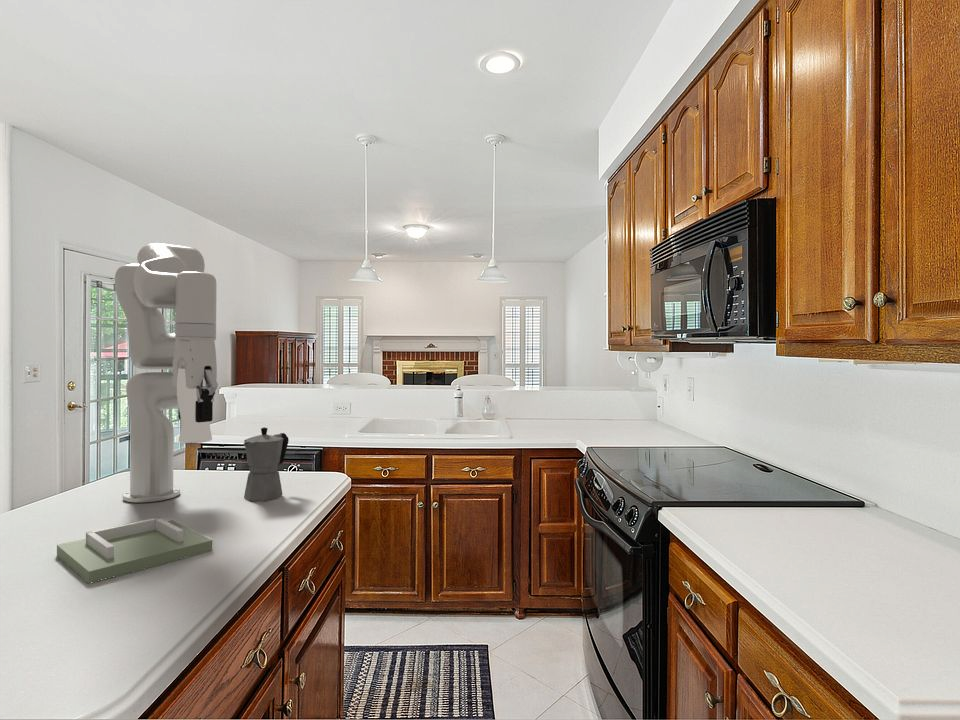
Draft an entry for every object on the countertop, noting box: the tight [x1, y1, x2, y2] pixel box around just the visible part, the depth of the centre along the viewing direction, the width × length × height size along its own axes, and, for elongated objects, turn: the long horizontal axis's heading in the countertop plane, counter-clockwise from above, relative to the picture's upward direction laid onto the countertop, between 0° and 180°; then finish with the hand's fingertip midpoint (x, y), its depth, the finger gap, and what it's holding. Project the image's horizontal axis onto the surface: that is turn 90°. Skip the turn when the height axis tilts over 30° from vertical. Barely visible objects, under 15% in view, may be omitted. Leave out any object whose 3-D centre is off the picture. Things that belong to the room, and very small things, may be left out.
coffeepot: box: [243, 427, 290, 503], centre depth 145 cm, size 15×9×18 cm, turn 159°
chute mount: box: [56, 516, 213, 584], centre depth 104 cm, size 18×20×4 cm
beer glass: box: [177, 368, 213, 444], centre depth 115 cm, size 7×7×15 cm
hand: (195, 419), depth 115 cm, fingers closed on beer glass, 6 cm apart
